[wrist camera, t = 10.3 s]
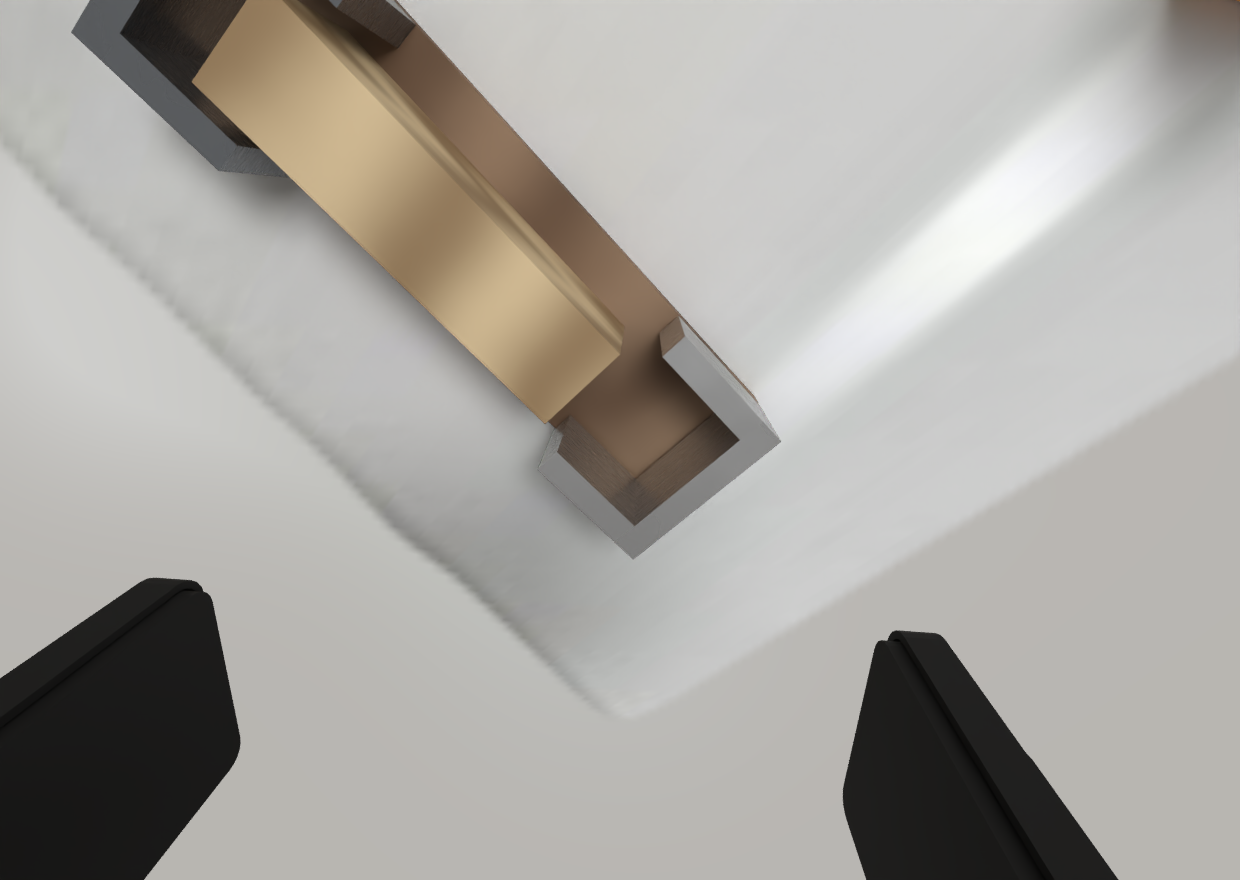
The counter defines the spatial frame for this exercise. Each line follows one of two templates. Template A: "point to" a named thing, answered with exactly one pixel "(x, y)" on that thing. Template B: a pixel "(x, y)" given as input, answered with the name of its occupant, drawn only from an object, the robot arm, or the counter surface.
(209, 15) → the grey end holder
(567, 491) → the bracket
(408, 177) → the slat
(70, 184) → the counter surface
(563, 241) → the base board
